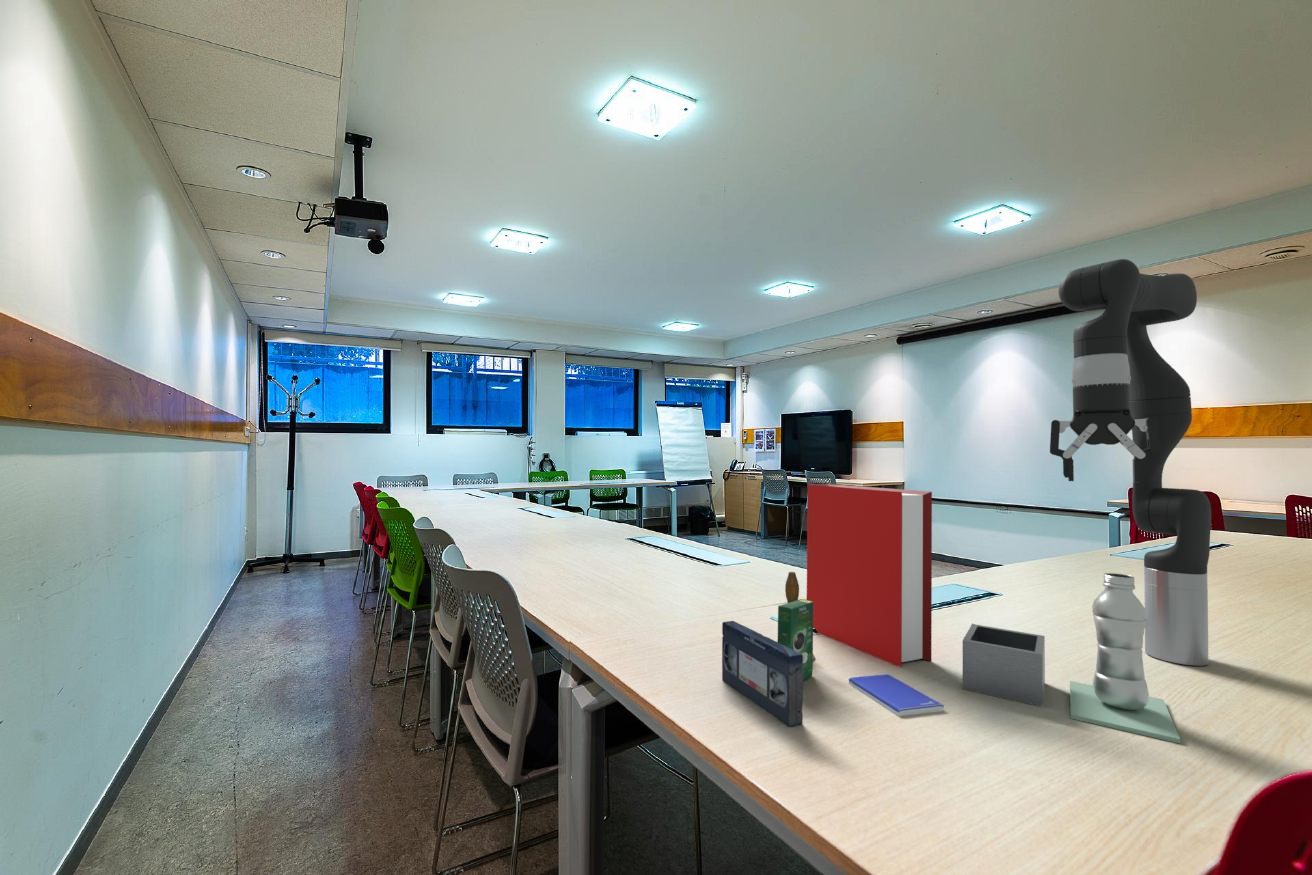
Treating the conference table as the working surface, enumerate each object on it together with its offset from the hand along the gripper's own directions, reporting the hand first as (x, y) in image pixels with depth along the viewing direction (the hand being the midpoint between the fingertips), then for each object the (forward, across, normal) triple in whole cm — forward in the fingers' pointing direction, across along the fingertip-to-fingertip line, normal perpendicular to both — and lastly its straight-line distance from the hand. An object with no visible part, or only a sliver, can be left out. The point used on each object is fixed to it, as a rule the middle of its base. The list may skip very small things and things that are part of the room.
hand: (1102, 481), depth 94 cm
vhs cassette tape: (+34, +45, +37) cm, 67 cm away
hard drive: (+35, +28, +22) cm, 50 cm away
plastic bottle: (+34, -1, +6) cm, 35 cm away
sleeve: (+35, +14, +6) cm, 38 cm away
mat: (+35, -1, +7) cm, 35 cm away
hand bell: (+34, +48, +15) cm, 61 cm away
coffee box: (+34, +44, +26) cm, 61 cm away
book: (+35, +40, -2) cm, 53 cm away
